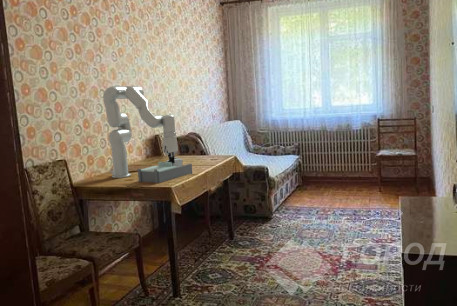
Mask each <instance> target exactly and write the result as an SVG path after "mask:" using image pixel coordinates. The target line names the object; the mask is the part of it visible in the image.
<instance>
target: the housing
mask: <svg viewBox="0 0 457 306" xmlns="http://www.w3.org/2000/svg"><path fill="white" fill-rule="evenodd" d="M172 166H173V163H172ZM141 169H142V168H137V179H138V183H155V184H160V183H164V182H167V181H169V180H173V179H177V178H180V177H182V176H186V175H193V164H192V163H187V164H184V165H183V164H182V166H180V167H176V168H174V169H170V170H166V171H163V172H158V171H157V169H155V170H154V172H141Z"/></svg>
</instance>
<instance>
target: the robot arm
mask: <svg viewBox="0 0 457 306" xmlns="http://www.w3.org/2000/svg"><path fill="white" fill-rule="evenodd" d="M144 95H145V92H144V89H143V87H141V86H139V85H137V86H136V85H130V86H126V85H111V86H109V87H108V88H106V89H105V90H104V92H103V96H102V98H103V99H102V100H103V103H104V107H105V112H106V118H107V123H108V126H109V127H111V128H117V129H114V130H111V131H110V132H109V134H108V141H109V144H110V148H111V150H110V151H111V157H112V167H113V168H112V170H111V171H110V173H111V174H112V175H111V178H113V179H116V178H117V179H121V178H127V177H130V176H132V173H130V172H129V166H128V155H127V154H128V153H127V147H126V145H125V143H127V142H130V140H131V139H132V134H133V133H132V128H131V122H130V119H129V116H128V115H127V114H126V113H125V112H121V111H120V107H119V104H118V102H117V100H126V99H127V100H129V101H130V103H131V104H132V105H133V106H134V107H135V108H136V109H137V111H138V114H139V116H140V118H141V119H142V120H143V122H144V123H145V124H146V125H147V126H148V127H150V128H151V129H153V128H154V129H155V128H161V127H162V130H163V137H162V138H163V139H162V152H163V153H164V155H165V156H167V157H168V160H169V162H172V163H175V160H174V157H175V156H176V154H178V151H179V146H178V140H177V139H178V138H177V135H176V124H175V116H174V114H173V115H172V114H169V115H168V114H165V115H161V114H157V115H154V114H153V113H152V112H151V111H150V110H149V108H148V106H149V103H150V102H149V100H148V99H147V98H146V97H145V96H144Z"/></svg>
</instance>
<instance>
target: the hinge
mask: <svg viewBox="0 0 457 306" xmlns="http://www.w3.org/2000/svg"><path fill="white" fill-rule="evenodd" d="M174 160H175V163H173V166H176V167H180V166H183V159H182V158H179V157H177V156H176V157H174ZM165 162H169V159H167V160H166V161H165Z"/></svg>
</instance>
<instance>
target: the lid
mask: <svg viewBox="0 0 457 306" xmlns="http://www.w3.org/2000/svg"><path fill="white" fill-rule="evenodd" d="M157 164H158V165H152V166H149V167H146V168H140V169H141V172H154V170H155V169H157V171H158V172H163V171H166V170H170V169H174V168H176V166H172V162H166V161H158V163H157Z"/></svg>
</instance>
